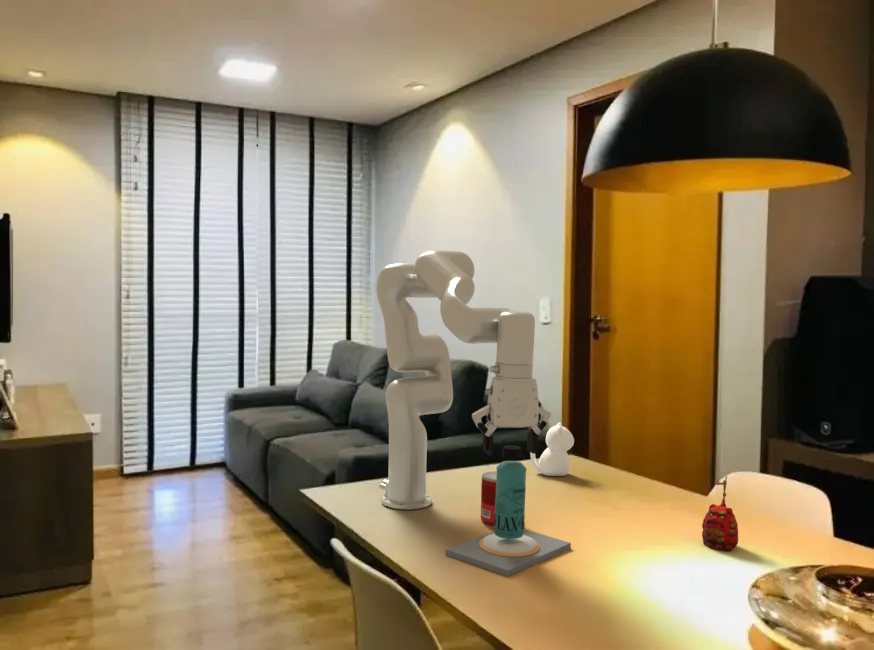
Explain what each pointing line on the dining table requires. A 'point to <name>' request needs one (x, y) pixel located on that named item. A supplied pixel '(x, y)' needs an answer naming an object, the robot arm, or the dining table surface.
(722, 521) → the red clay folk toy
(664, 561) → the dining table surface
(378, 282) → the robot arm
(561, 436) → the cat figurine
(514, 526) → the beverage bottle
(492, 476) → the canned food
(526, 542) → the board
